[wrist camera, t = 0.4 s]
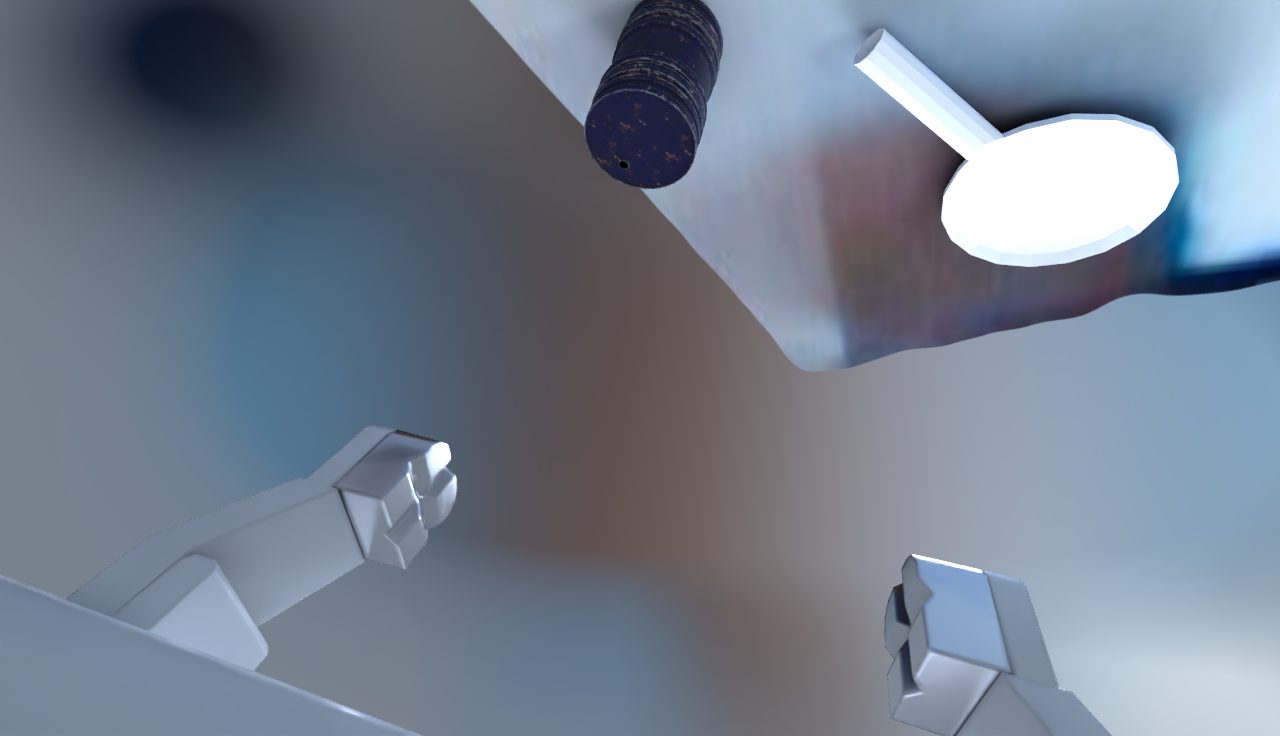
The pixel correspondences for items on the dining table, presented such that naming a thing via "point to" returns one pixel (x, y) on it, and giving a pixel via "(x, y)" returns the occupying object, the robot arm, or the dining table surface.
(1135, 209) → the frying pan
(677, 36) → the storage jar
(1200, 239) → the dining table surface
